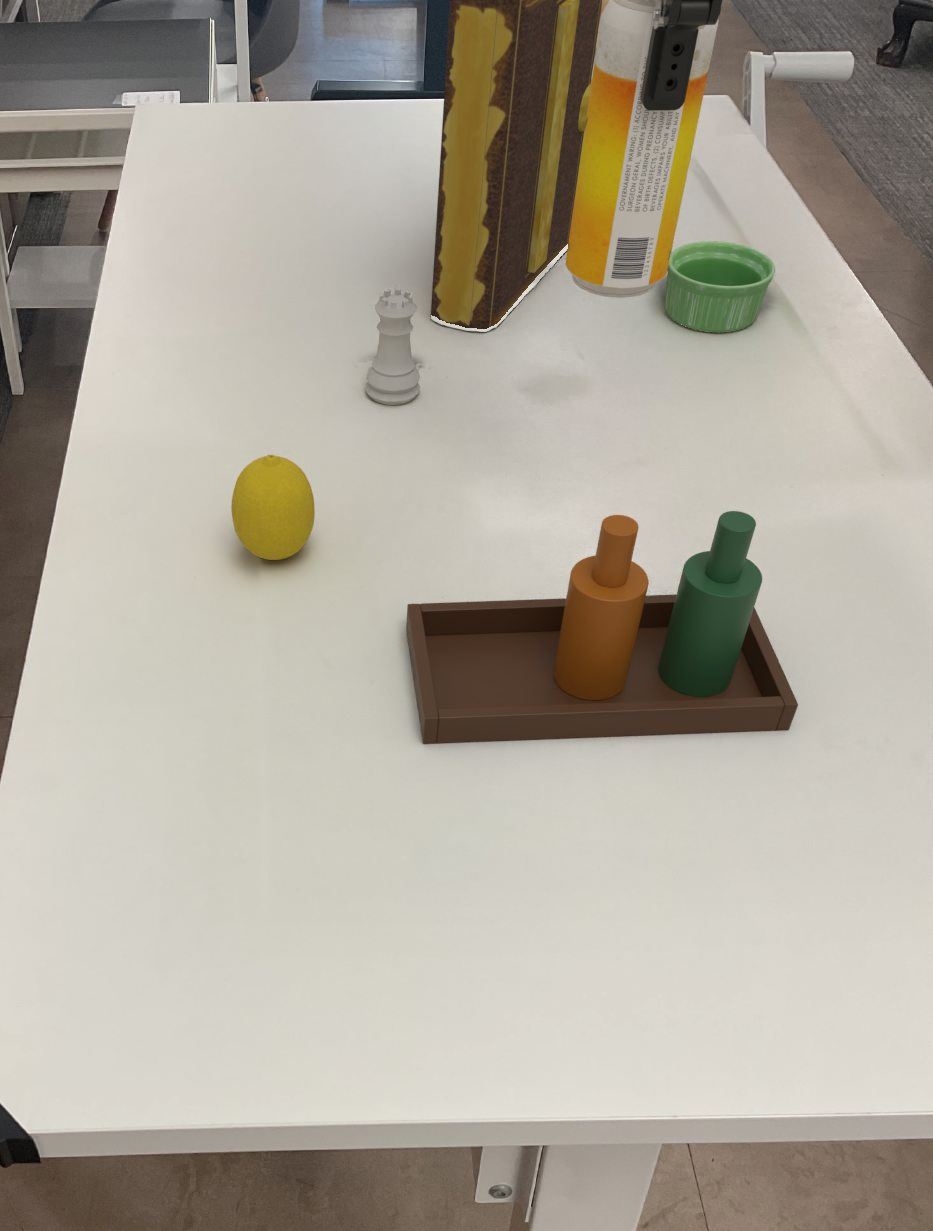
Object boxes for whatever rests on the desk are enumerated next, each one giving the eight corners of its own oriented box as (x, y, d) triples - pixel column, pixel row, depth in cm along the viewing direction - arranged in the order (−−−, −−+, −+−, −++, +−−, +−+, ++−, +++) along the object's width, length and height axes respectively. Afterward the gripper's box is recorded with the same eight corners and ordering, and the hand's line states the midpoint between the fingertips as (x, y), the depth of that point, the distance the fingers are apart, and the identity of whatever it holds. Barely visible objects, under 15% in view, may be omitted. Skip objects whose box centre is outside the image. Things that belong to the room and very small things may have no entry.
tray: (737, 624, 81) (748, 591, 79) (786, 737, 74) (798, 704, 72) (405, 636, 81) (407, 603, 79) (422, 751, 73) (424, 718, 72)
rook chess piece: (379, 412, 99) (382, 313, 93) (355, 386, 102) (357, 289, 96) (429, 399, 100) (436, 301, 94) (404, 374, 103) (409, 278, 97)
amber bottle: (617, 652, 78) (651, 500, 70) (632, 699, 75) (669, 547, 67) (547, 655, 78) (572, 503, 70) (560, 702, 75) (588, 550, 67)
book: (500, 339, 107) (537, 0, 88) (410, 318, 110) (427, -15, 91) (589, 241, 120) (636, -73, 101) (506, 224, 123) (538, -84, 104)
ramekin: (639, 299, 112) (648, 249, 109) (728, 283, 114) (740, 234, 110) (689, 344, 106) (701, 293, 103) (782, 328, 108) (796, 277, 105)
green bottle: (720, 648, 78) (765, 497, 70) (739, 695, 75) (789, 543, 67) (650, 651, 78) (688, 499, 70) (667, 698, 75) (708, 545, 67)
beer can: (645, 254, 79) (698, -27, 67) (678, 297, 75) (741, 7, 63) (551, 261, 78) (590, -22, 67) (580, 305, 74) (626, 13, 63)
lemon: (318, 581, 84) (317, 477, 79) (236, 586, 84) (229, 482, 78) (312, 534, 88) (310, 431, 82) (233, 538, 88) (226, 435, 82)
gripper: (854, -309, 51) (750, 134, 64) (760, -348, 61) (685, 43, 73) (672, -308, 51) (603, 136, 64) (607, -347, 61) (558, 45, 73)
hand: (647, 85), depth 68 cm, fingers closed on beer can, 6 cm apart
